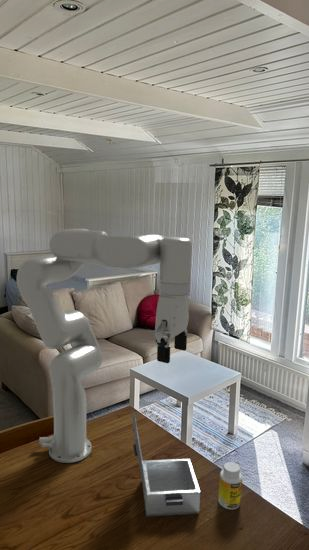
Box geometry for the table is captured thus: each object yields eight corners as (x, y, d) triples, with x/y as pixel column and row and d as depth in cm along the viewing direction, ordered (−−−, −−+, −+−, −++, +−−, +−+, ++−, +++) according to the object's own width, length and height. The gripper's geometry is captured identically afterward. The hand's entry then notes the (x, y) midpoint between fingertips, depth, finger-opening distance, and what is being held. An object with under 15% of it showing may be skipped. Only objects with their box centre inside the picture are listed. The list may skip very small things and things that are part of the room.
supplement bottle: (228, 514, 101) (231, 476, 99) (213, 500, 105) (215, 464, 104) (245, 505, 104) (247, 469, 102) (229, 492, 109) (232, 457, 107)
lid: (147, 493, 98) (140, 494, 98) (142, 460, 111) (137, 461, 111) (137, 439, 95) (131, 440, 95) (134, 411, 108) (128, 412, 108)
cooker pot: (147, 521, 98) (147, 499, 97) (141, 476, 114) (142, 457, 113) (200, 518, 99) (201, 496, 98) (187, 474, 115) (188, 454, 114)
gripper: (175, 280, 109) (173, 342, 112) (143, 293, 94) (141, 364, 97) (202, 284, 105) (199, 347, 108) (173, 297, 90) (170, 370, 93)
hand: (172, 355), depth 103 cm, fingers open, 9 cm apart
